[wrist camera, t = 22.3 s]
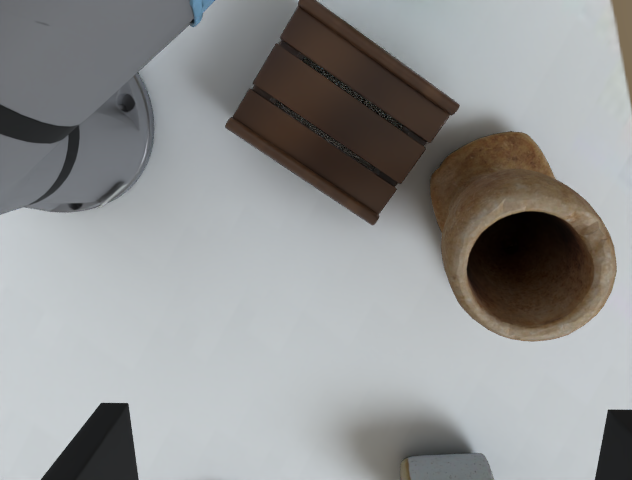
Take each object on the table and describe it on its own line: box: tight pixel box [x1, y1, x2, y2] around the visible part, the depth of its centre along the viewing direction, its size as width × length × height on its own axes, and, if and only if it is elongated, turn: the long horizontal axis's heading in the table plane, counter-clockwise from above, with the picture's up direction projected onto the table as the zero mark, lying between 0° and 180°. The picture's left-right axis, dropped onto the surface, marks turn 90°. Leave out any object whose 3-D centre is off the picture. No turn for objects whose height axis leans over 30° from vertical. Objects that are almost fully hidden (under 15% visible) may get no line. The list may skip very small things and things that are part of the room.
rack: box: [225, 0, 460, 225], centre depth 35 cm, size 13×10×6 cm
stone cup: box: [430, 131, 617, 341], centre depth 33 cm, size 15×12×15 cm
